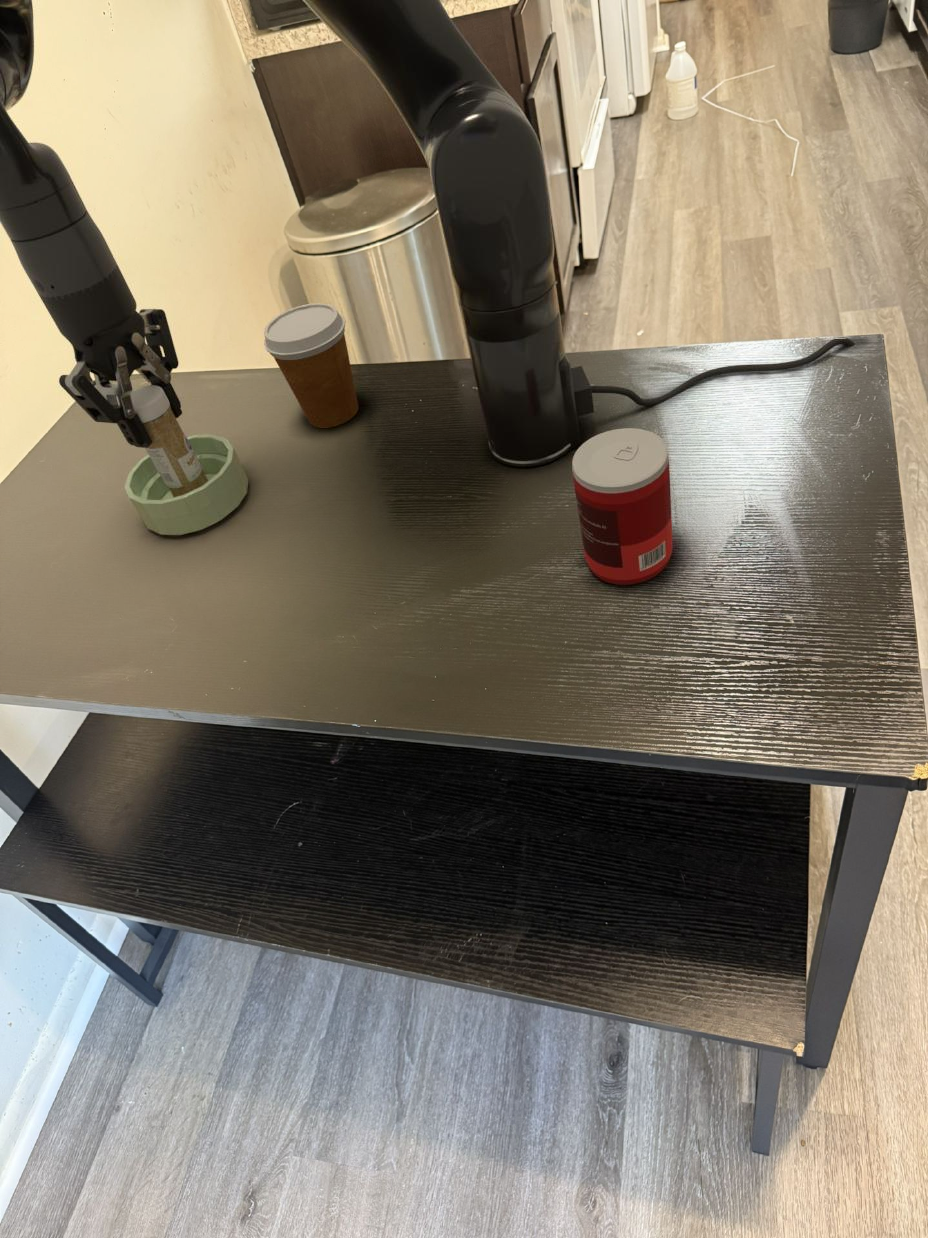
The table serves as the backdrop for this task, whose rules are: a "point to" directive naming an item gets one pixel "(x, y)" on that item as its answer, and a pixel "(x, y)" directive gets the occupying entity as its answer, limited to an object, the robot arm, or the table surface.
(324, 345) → the disposable coffee cup
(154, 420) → the sprinkles bottle
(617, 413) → the table surface
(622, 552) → the canned food
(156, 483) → the bowl
